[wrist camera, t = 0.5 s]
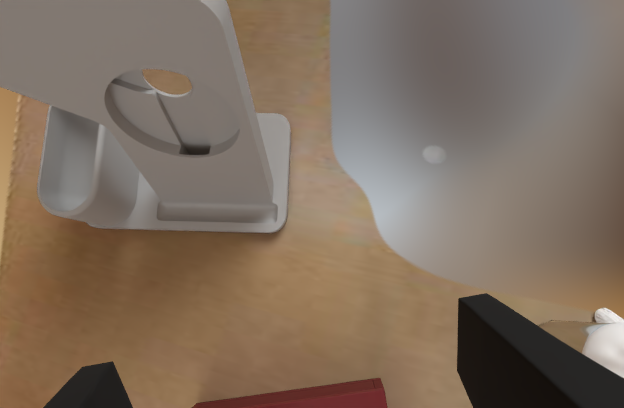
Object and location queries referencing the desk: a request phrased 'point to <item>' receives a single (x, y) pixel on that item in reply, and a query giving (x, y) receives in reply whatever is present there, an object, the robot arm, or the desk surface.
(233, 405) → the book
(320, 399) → the cover
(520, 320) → the robot arm
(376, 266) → the desk surface
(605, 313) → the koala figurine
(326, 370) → the desk surface
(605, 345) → the beige flat rounded piece
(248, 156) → the phone holder
